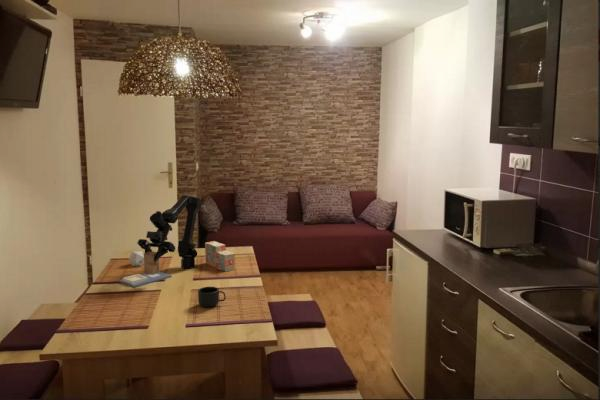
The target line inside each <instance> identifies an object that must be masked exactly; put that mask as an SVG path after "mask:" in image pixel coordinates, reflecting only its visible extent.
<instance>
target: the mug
mask: <svg viewBox="0 0 600 400" xmlns="http://www.w3.org/2000/svg"><path fill="white" fill-rule="evenodd" d="M220 293H222V294H223V299H220ZM197 298H198V299H197V301H198V304H199V306H201V307H203V308H213V307H215V306H217V305H218V304H219V302H224V301H226V300H227V299H226V293H225V292H224V291H223V290H220V289H219V288H218V287H217V286H204V287H201V288H199V289H198V290H197Z"/></svg>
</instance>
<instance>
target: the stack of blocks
mask: <svg viewBox="0 0 600 400" xmlns="http://www.w3.org/2000/svg"><path fill="white" fill-rule="evenodd" d="M204 247H205V248H204V249H205V252H204V253H205V264H207V265H209V266H211V267H213V268H216V269H219V270H220V271H223V272H230V271H234V270H235V257H236V256H235V253H234V252H232V251H229V250H226V244H224V243H220V242H218V241H215V240H213V241H208V242H207V241H206V242H204Z"/></svg>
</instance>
